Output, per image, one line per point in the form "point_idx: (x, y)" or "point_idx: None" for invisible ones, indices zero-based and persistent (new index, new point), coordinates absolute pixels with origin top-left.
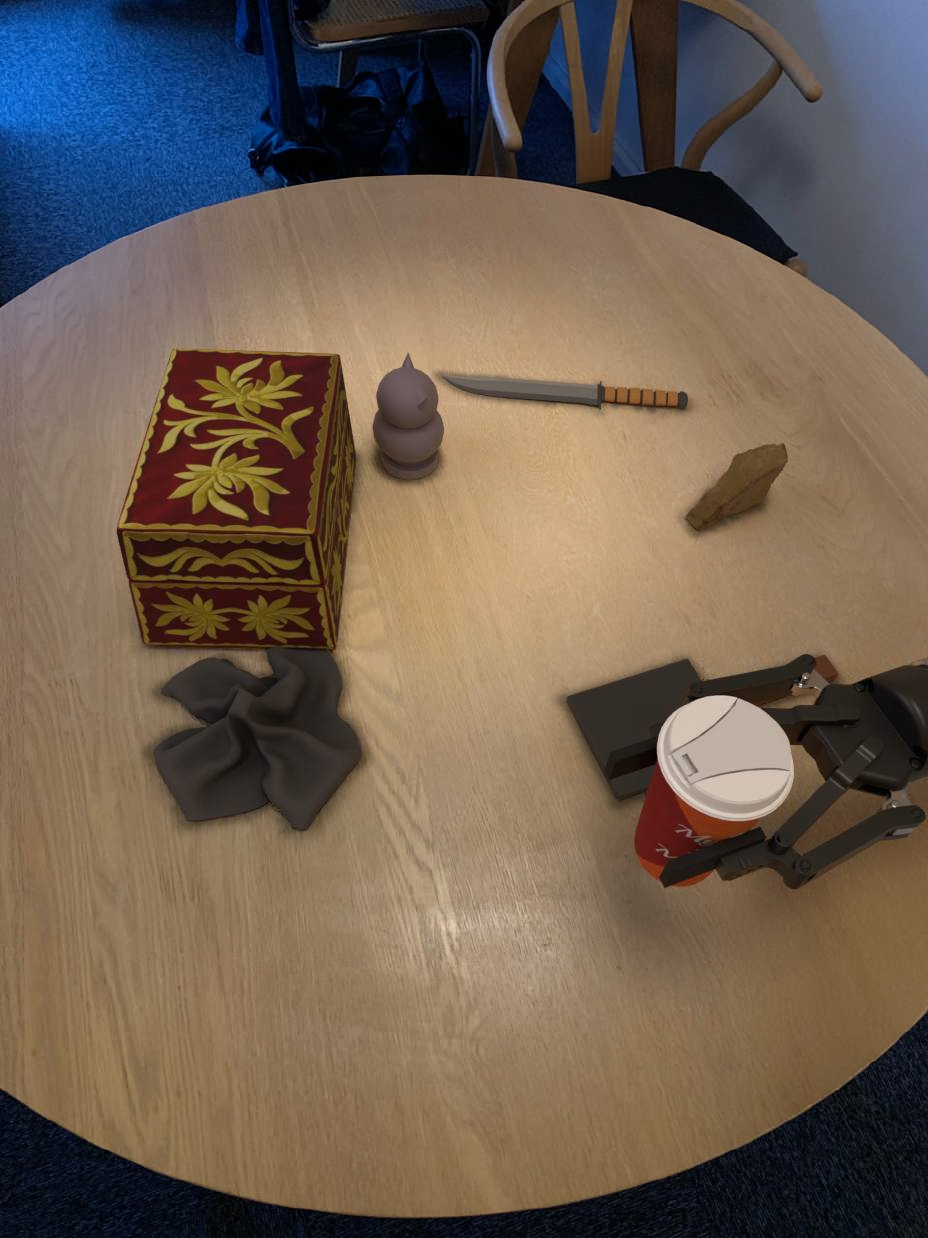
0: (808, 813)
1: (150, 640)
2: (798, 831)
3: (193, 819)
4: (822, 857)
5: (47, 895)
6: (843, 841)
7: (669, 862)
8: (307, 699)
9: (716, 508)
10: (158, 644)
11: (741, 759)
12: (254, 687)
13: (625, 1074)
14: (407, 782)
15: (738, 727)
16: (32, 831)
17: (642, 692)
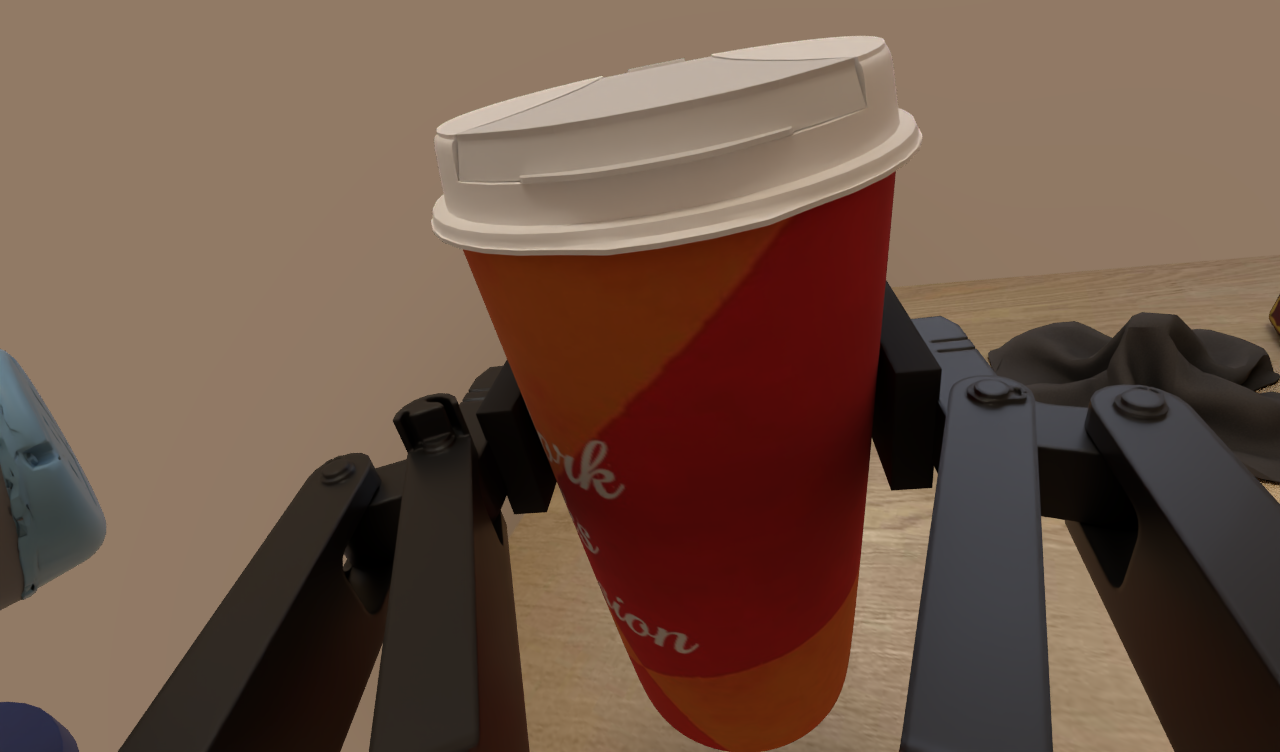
0: (434, 551)
1: (1273, 312)
2: (418, 493)
3: (989, 354)
4: (302, 523)
5: (913, 297)
6: (254, 617)
7: None
8: (1220, 436)
9: None
10: (1273, 324)
11: (594, 91)
12: (1210, 368)
13: (542, 666)
14: (1066, 531)
15: (711, 75)
16: (978, 287)
17: None
